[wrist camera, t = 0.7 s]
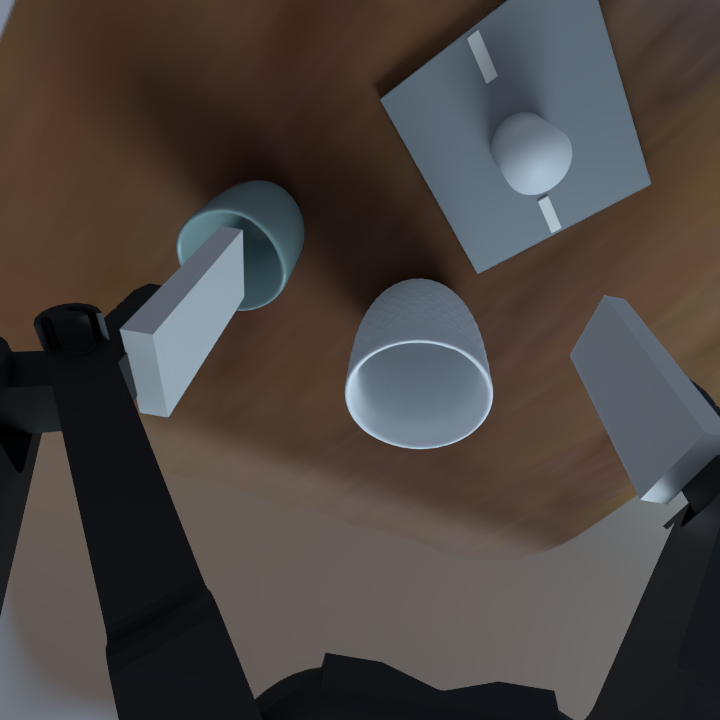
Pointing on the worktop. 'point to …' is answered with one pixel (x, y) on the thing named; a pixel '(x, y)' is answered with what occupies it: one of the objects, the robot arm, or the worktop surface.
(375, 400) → the mug
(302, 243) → the cup
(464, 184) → the post plate
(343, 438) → the worktop surface
